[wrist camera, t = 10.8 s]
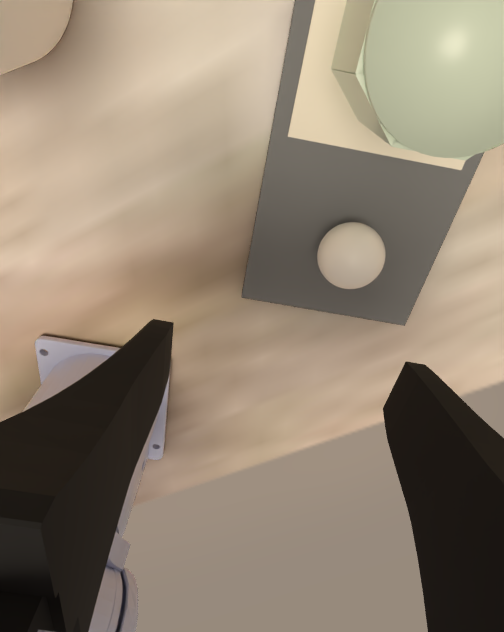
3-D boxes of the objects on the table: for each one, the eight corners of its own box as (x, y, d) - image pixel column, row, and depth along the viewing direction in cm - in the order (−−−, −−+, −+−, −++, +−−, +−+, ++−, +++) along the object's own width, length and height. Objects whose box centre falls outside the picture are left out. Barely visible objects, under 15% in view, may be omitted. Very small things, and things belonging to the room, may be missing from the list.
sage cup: (448, 138, 17) (523, 173, 12) (320, 113, 16) (340, 139, 11) (515, -31, 14) (654, -81, 9) (361, -64, 14) (413, -135, 8)
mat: (402, 320, 22) (405, 327, 22) (242, 292, 22) (241, 299, 21) (575, -65, 14) (589, -70, 13) (317, -124, 13) (319, -132, 13)
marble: (365, 275, 20) (378, 306, 18) (308, 265, 20) (312, 295, 18) (386, 219, 19) (403, 244, 16) (324, 207, 19) (331, 231, 16)
